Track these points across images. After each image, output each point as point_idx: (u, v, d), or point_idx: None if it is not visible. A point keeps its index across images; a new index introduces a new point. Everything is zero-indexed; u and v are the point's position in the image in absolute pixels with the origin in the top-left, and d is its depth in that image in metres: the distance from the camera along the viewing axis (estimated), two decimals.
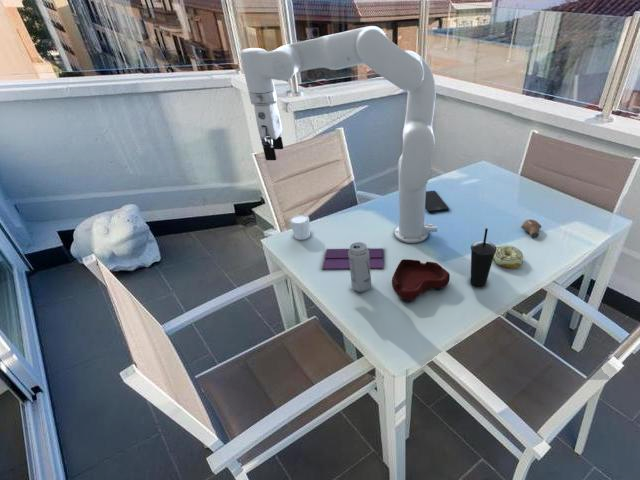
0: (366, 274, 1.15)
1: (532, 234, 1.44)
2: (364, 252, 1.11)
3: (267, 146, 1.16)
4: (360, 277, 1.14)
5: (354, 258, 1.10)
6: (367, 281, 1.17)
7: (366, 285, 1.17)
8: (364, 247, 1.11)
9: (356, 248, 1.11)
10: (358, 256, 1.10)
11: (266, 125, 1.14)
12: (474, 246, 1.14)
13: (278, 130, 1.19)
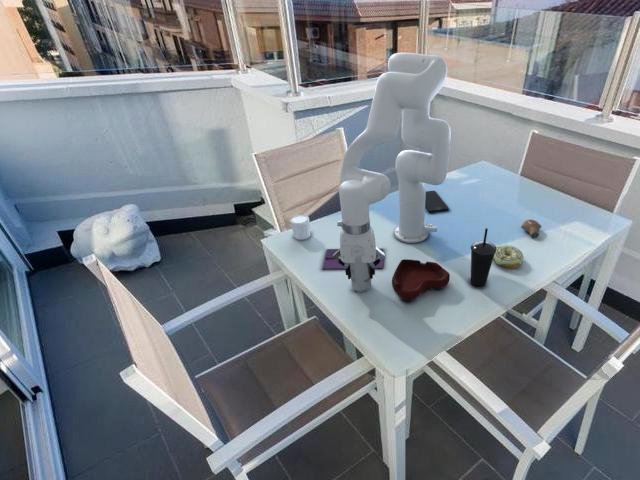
0: (366, 274, 1.15)
1: (532, 234, 1.44)
2: None
3: None
4: (360, 277, 1.14)
5: None
6: (367, 281, 1.17)
7: (366, 285, 1.17)
8: None
9: None
10: None
11: None
12: (474, 246, 1.14)
13: None
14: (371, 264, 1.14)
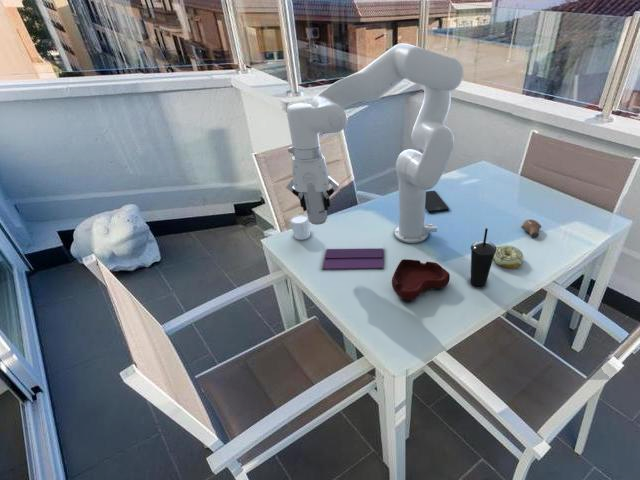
0: (321, 204, 1.17)
1: (532, 234, 1.44)
2: None
3: None
4: (314, 207, 1.17)
5: (307, 187, 1.13)
6: (322, 213, 1.19)
7: (321, 217, 1.19)
8: None
9: None
10: (311, 184, 1.12)
11: None
12: (474, 246, 1.14)
13: None
14: (325, 194, 1.16)
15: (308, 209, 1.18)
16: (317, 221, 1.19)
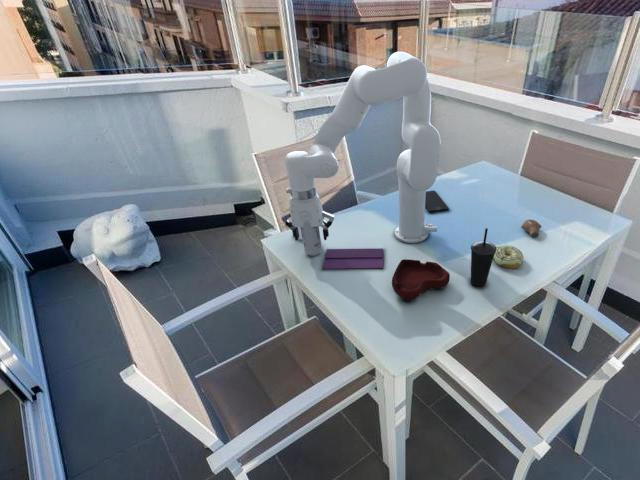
0: (316, 238, 1.30)
1: (532, 234, 1.44)
2: None
3: None
4: (310, 241, 1.29)
5: (303, 224, 1.25)
6: (317, 246, 1.32)
7: (316, 249, 1.32)
8: None
9: None
10: None
11: None
12: (474, 246, 1.14)
13: None
14: (323, 226, 1.28)
15: (304, 242, 1.30)
16: (312, 253, 1.32)
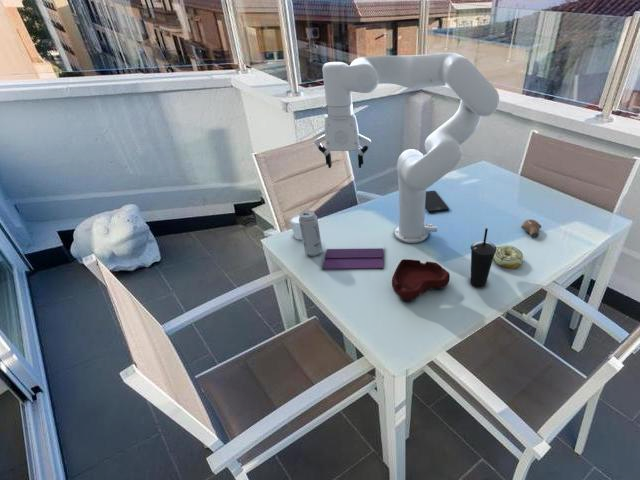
0: (316, 238, 1.30)
1: (532, 234, 1.44)
2: (312, 218, 1.25)
3: None
4: (310, 241, 1.29)
5: (303, 224, 1.25)
6: (317, 246, 1.32)
7: (316, 249, 1.32)
8: (312, 214, 1.26)
9: (305, 215, 1.26)
10: (306, 221, 1.25)
11: None
12: (474, 246, 1.14)
13: (339, 145, 1.17)
14: (358, 151, 1.20)
15: (304, 242, 1.30)
16: (312, 253, 1.32)
